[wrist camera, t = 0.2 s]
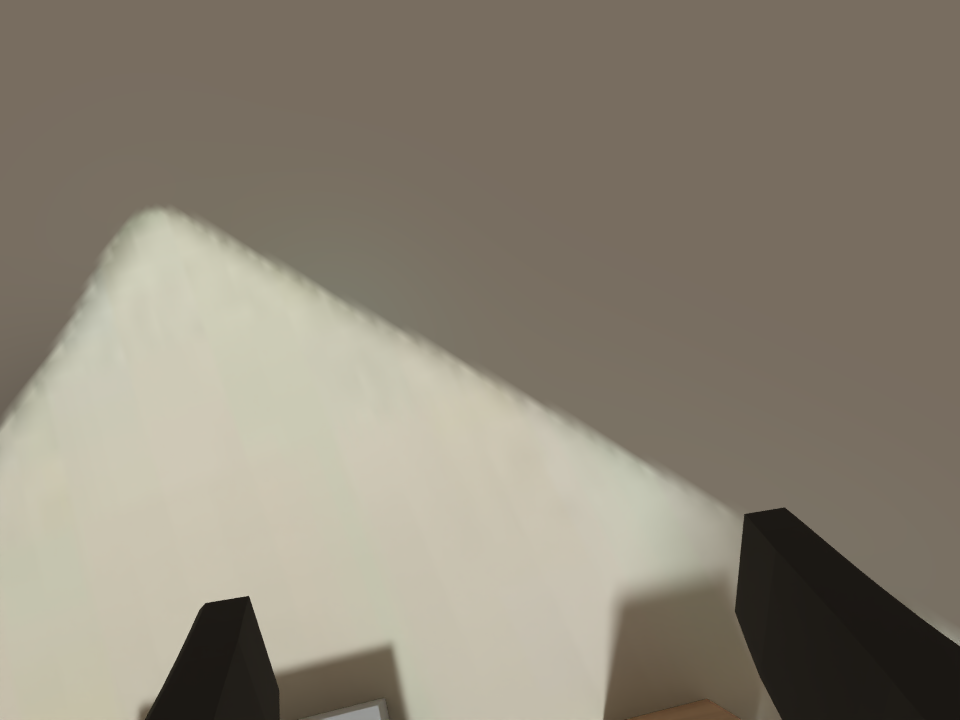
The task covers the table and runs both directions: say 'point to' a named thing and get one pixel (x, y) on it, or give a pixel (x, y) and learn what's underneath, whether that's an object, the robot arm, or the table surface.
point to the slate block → (356, 712)
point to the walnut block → (691, 712)
